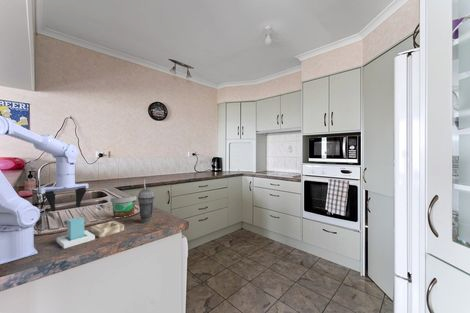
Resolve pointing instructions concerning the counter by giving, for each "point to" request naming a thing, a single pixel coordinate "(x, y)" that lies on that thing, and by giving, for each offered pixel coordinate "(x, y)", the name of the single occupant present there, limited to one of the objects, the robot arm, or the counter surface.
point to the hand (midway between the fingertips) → (66, 208)
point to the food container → (123, 206)
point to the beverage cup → (146, 204)
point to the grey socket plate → (75, 240)
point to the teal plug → (75, 228)
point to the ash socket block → (107, 228)
